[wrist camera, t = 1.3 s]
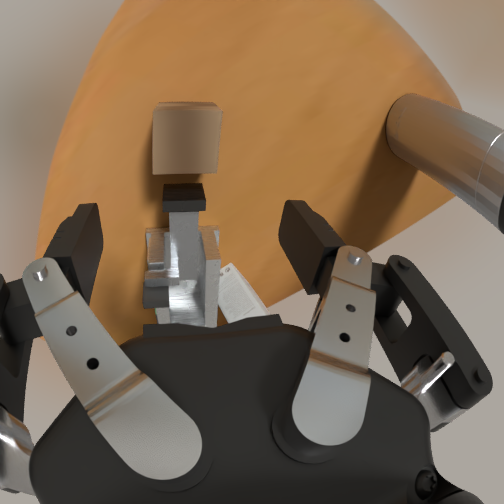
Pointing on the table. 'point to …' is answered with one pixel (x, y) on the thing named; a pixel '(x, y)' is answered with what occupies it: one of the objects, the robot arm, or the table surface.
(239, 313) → the skincare box
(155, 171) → the walnut block
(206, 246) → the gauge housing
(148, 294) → the dark gray block
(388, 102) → the table surface
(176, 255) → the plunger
